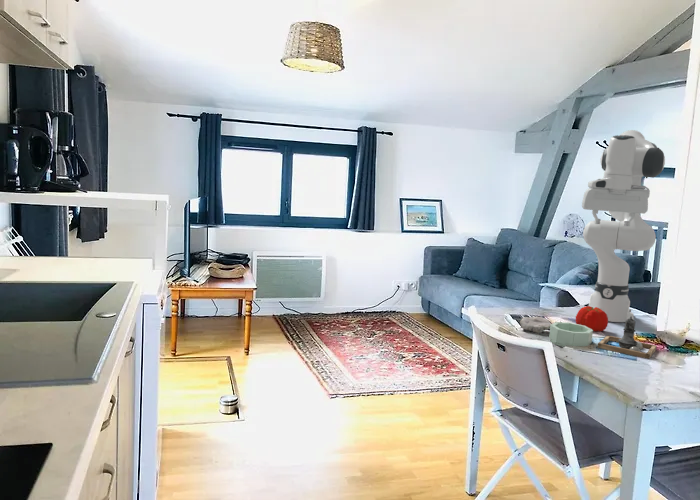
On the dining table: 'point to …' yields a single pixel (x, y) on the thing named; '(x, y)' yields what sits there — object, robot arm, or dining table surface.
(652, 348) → the oak tray
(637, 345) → the pebble
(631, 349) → the pebble
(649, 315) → the dining table surface
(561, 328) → the bowl
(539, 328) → the fossil
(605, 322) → the tomato
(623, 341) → the chess piece
